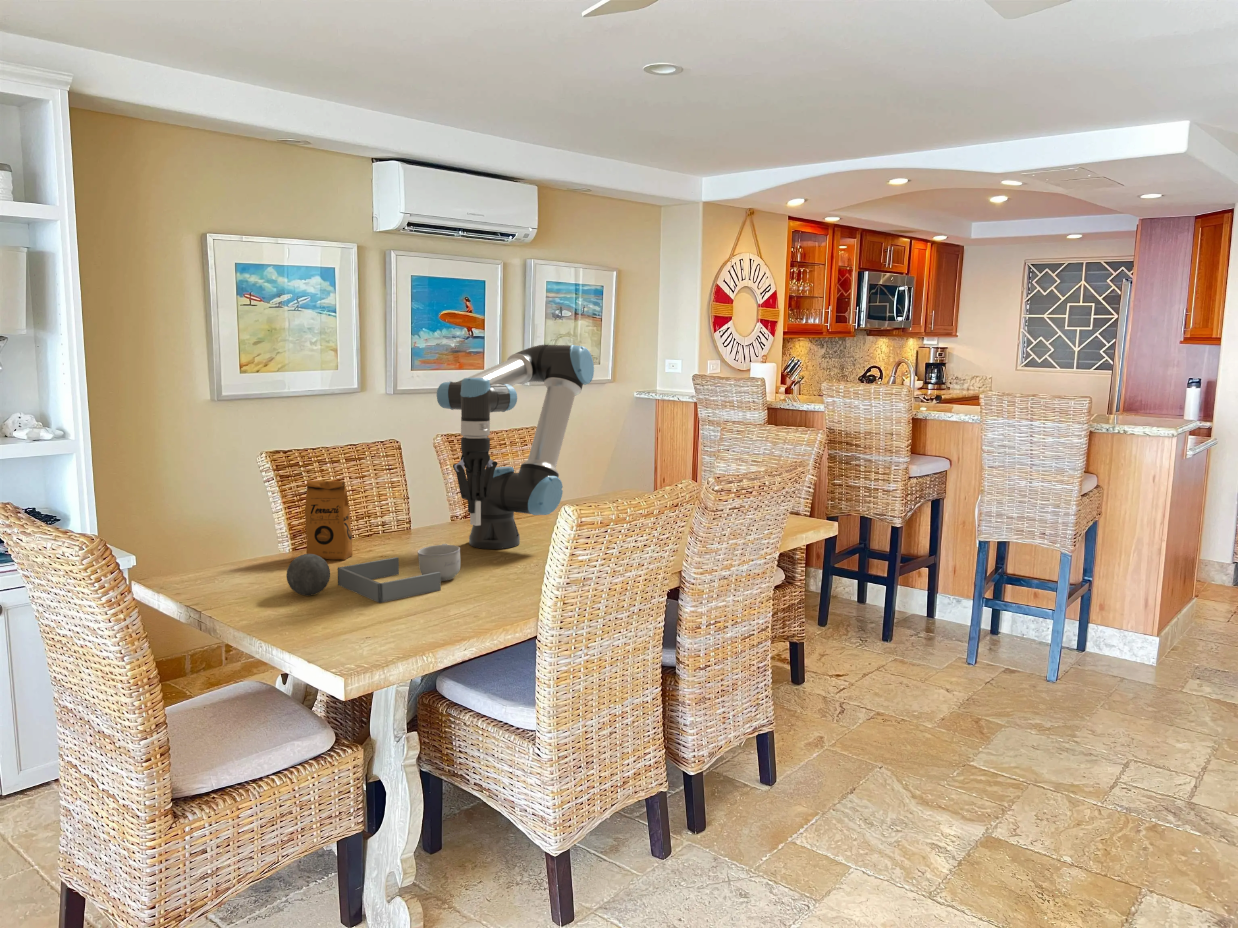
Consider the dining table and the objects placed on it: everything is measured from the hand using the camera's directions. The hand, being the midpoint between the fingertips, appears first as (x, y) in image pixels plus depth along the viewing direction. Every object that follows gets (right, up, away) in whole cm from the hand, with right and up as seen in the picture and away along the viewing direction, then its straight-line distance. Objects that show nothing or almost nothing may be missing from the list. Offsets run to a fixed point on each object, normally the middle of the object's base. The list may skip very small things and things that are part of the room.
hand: (475, 524), depth 248 cm
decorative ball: (-37, -16, -23) cm, 46 cm away
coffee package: (-43, -10, +13) cm, 46 cm away
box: (-19, -15, -16) cm, 29 cm away
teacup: (-8, -14, -5) cm, 17 cm away
